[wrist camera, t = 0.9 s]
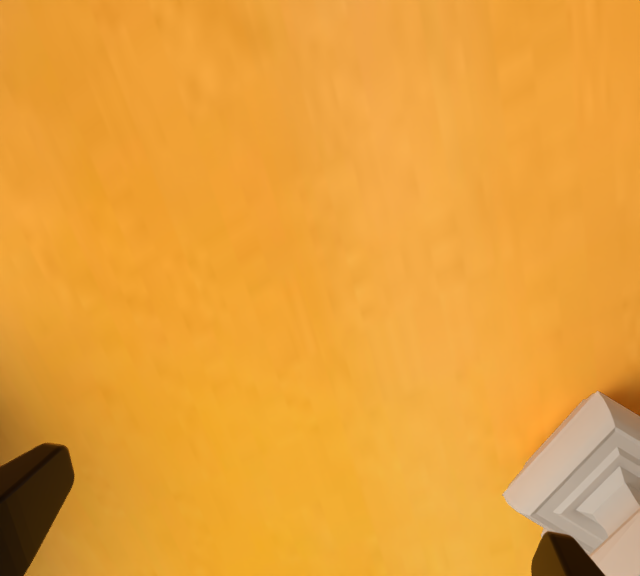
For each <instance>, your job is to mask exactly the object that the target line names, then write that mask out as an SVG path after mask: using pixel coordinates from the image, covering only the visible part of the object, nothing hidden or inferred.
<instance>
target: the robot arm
mask: <svg viewBox="0 0 640 576" xmlns="http://www.w3.org/2000/svg"><path fill="white" fill-rule="evenodd" d="M73 482H74V470H73V466H72V462H71V458H70V454H69V450H68V448H67V447H66V446H64V445H60V444H54V443H44V444H41V445H39V446H37V447H35V448H33V449H32V450H30V451H28V452H26V453H24V454H23V455H21V456H19V457H17V458H15V459H13V460H12V461H10V462H8V463H6V464H4V465H2V466H1V467H0V576H24V574H25V572H26V571H27V569H28V568H29V566H30V564H31V562H32V561H33V559H34V557H35V555H36V554H37V552H38V550H39V548H40V546H41V544H42V542H43V540H44V539H45V537H46V535H47V533H48V531H49V529H50V527H51V525H52V524H53V522H54V520H55V518H56V516H57V514H58V512H59V510H60V509H61V507H62V505H63V503H64V501H65V499H66V497H67V495H68V494H69V492H70V490H71V488H72V485H73ZM531 572H532V576H605V574H604V573H603V572H602V571H601V570H600V568H599V567H598V566H597V565H596V564H595V562H594V561H593V560H592V559H591V558H590V556H589V555H588V554H587V553H586V552H585V550H584V549H583V548H582V547H581V546H580V544H579V543H578V542H577V541H576V540H575V539H574V538H573V537H572V536H570V535H567V534H563V533H557V532H552V531H547V532H546V533H544V535H543V536H542V539H541V541H540V543H539V546H538V548H537V550H536V552H535V555H534V557H533V560H532V566H531Z"/></svg>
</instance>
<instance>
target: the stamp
mask: <svg viewBox="0 0 640 576" xmlns="http://www.w3.org/2000/svg"><path fill="white" fill-rule="evenodd" d="M502 495H503V496H504V498H505V500H506V502H507V503H508V504H509V505H510V506H511V507H512V508H513V509H515V510H516V511H517V512H519V513H520V514H522V515H524V516H525V517H527V518H528V519H530V520H532V521H533V522H535V523H537V524H538V525H540V526H542V527H543V528H544V529H543V532H542V534H541V537H542V536H543V535H544V533H546V532H547V531H552V532H557V533H563V534H567V535H570V536H572V537H573V538H574V539H575V540H576V541H577V542H578V543H579V544H580V546H581V547H582V548H583V549H584V550H585V552H586V553H587V554H588V555H589V556H590V558H591V559H592V560H593V561H594V562H595V564H596V565H597V566H598V567H599V568H600V570H601V571H602V572H603V573H604V574H605V576H640V416H639V415H637V414H635V413H634V412H632V411H630V410H629V409H627V408H625V407H624V406H622V405H620V404H619V403H617V402H616V401H614V400H612V399H611V398H609V397H607V396H606V395H604V394H602V393H601V392H599V391H597V392H596V393H593V394H592V395H591V396H590V397H588V398H587V399H583V401H582V402H581V403H580V404H579V405H578V406H577V407H576V408H575V409H574V410H573V411H572V413H571V414H570V415H569V416H568V417H567V418H566V419H565V420H564V421H563V422H562V424H561V425H560V426H559V427H558V428H557V429H556V430H555V431H554V432H553V433H552V435H551V436H550V437H549V438H548V439H547V440H546V441H545V442H544V443H543V444H542V445H541V447H540V448H539V449H538V450H537V451H536V452H535V453H534V454H533V455H532V456H531V458H530V459H529V460H528V461H527V462H526V463H525V465H524V468H523V469H522V470H521V472H520V473H519V474H518V475H517V476H516V477H515V479H514V480H513V481H512V482H511V483H510V484H509V486H508V488H507V490H506V491H505V492H504V493H503V494H502Z"/></svg>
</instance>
